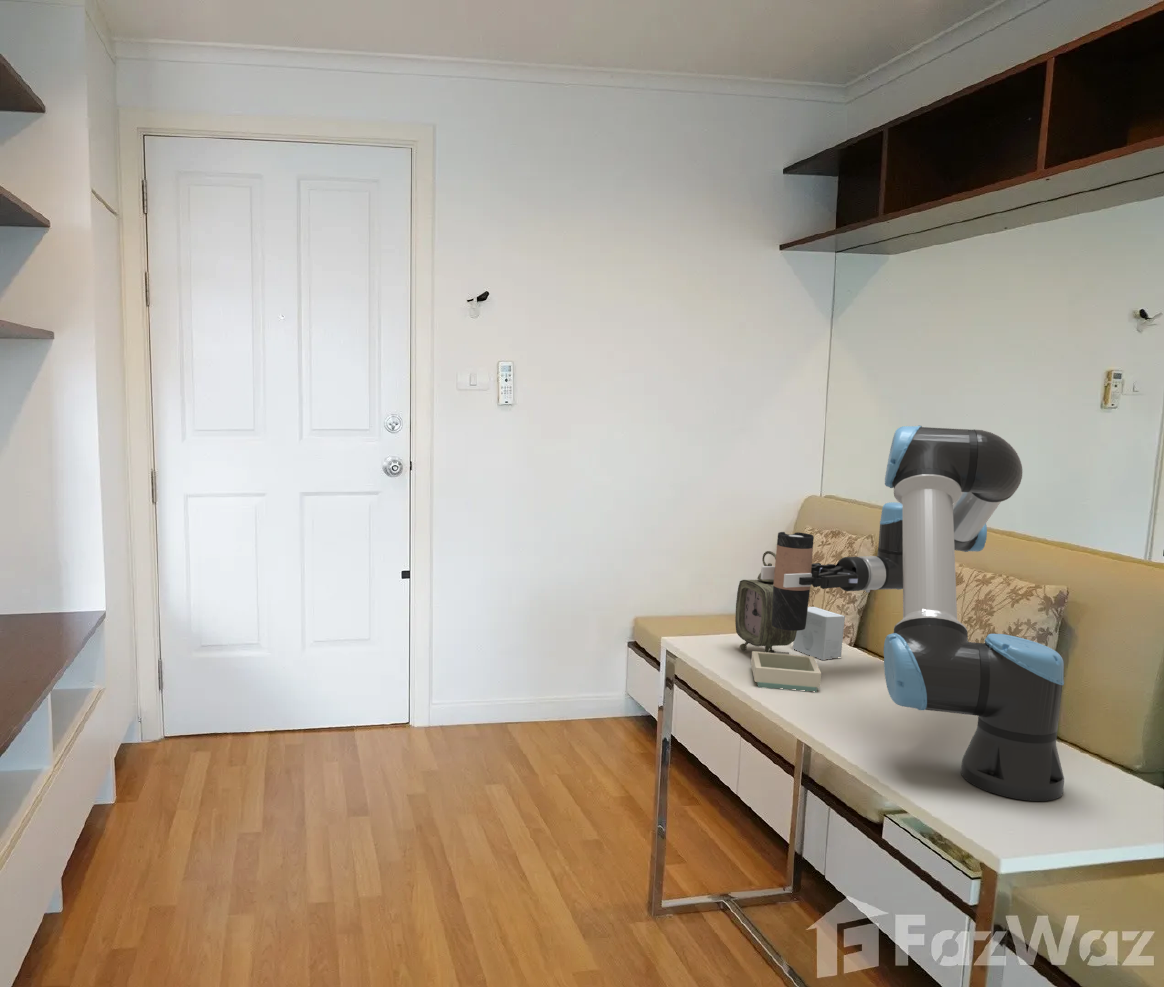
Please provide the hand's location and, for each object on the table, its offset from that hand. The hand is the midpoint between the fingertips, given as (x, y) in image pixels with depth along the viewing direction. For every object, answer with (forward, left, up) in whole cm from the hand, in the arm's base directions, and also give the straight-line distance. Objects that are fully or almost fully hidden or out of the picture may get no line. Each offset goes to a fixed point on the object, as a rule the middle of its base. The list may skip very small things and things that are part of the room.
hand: (773, 576), depth 199 cm
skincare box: (+27, -14, -23) cm, 38 cm away
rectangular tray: (+4, -4, -23) cm, 23 cm away
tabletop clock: (+20, -1, -23) cm, 31 cm away
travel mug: (+3, -4, -11) cm, 12 cm away
